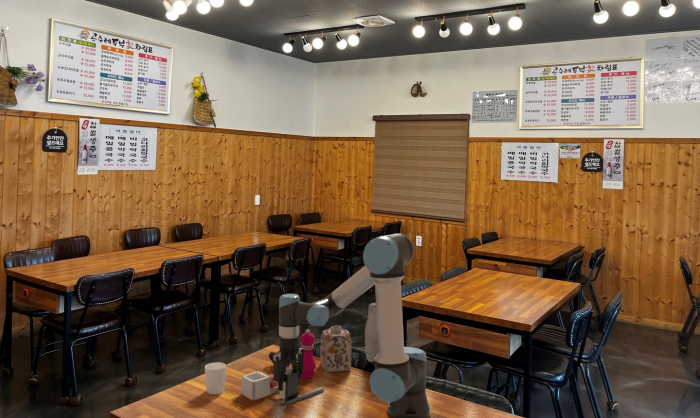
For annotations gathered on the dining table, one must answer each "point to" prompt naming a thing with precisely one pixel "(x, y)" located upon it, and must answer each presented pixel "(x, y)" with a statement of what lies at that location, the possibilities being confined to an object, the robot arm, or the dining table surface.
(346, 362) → the decorative jar
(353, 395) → the dining table surface
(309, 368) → the pepper mill
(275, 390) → the lane boards
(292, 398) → the rail
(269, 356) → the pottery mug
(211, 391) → the white cup
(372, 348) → the pale grey bottle
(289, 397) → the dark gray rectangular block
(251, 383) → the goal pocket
